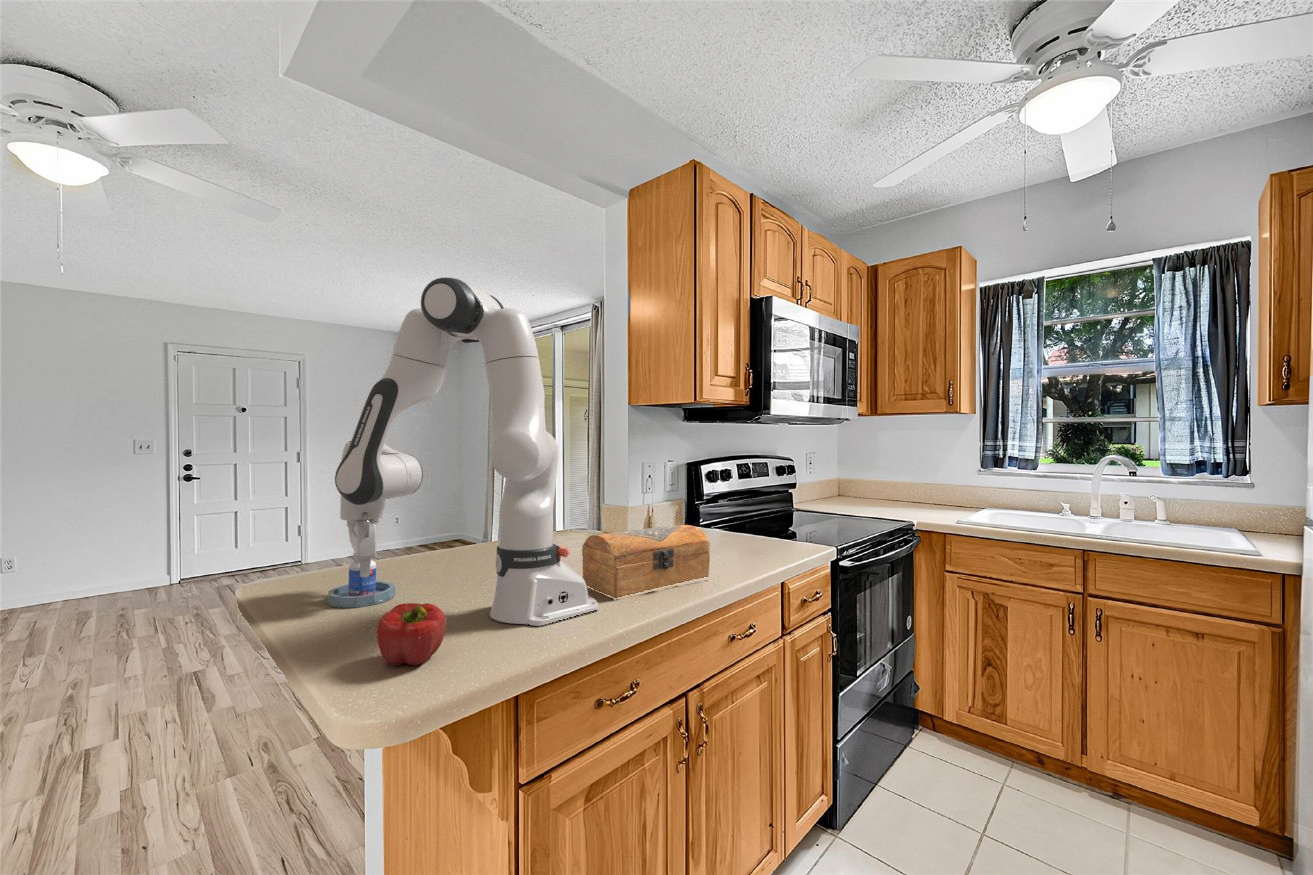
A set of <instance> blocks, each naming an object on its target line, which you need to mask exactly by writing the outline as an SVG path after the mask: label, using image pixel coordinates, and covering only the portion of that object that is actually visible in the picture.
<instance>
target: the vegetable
mask: <svg viewBox="0 0 1313 875" xmlns="http://www.w3.org/2000/svg"><path fill="white" fill-rule="evenodd" d="M446 628H447V619H446V614H445V612H443V611H442V610H441V608H440V607H438V605H435V604H433V603H428V602H427V603H416V602H415V603H413V602H412V603H411V602H409V603H407V602H406V603H400V604H397V605H395V606H394V607H392V608H391V609H390V610H389V611H388V612H385V613H384V614H383V615H381V618H380V619H378V622H377V628H376V634H377V635H376V636H377V637H376V638H377V643H378V648H379V652H380V655H381V657H382V659H384V661H385V662H387V663H388V664H389V665H392V666H399V665H404V664H405V663H406V664H408V665H409V666H417V665H420V664H423V663H425V662H426V661H427V660H429V658H430V657H432V656H433V655H435V653H436V652H437V651H438V650H439V648H440V647H441V645H442V642H443V640H444V636H445V633H446Z"/></svg>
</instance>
